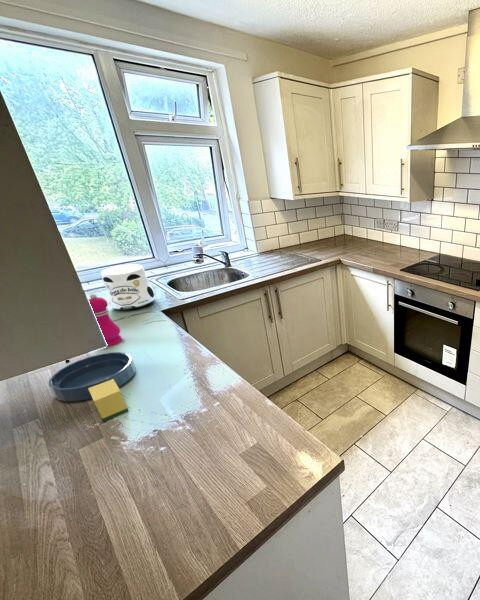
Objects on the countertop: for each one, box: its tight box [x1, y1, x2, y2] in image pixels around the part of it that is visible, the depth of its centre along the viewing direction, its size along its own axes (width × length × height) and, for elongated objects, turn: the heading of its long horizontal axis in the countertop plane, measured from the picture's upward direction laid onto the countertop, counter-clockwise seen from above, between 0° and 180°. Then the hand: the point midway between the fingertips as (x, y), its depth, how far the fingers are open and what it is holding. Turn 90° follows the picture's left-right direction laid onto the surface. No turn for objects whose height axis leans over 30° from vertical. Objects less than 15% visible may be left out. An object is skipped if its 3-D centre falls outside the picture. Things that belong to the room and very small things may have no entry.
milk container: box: [100, 264, 156, 311], centre depth 153 cm, size 17×17×18 cm
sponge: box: [88, 379, 129, 423], centre depth 90 cm, size 8×6×7 cm
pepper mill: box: [88, 293, 123, 347], centre depth 121 cm, size 7×7×20 cm
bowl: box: [48, 351, 136, 402], centre depth 102 cm, size 19×19×5 cm
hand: (30, 372), depth 81 cm, fingers open, 13 cm apart
